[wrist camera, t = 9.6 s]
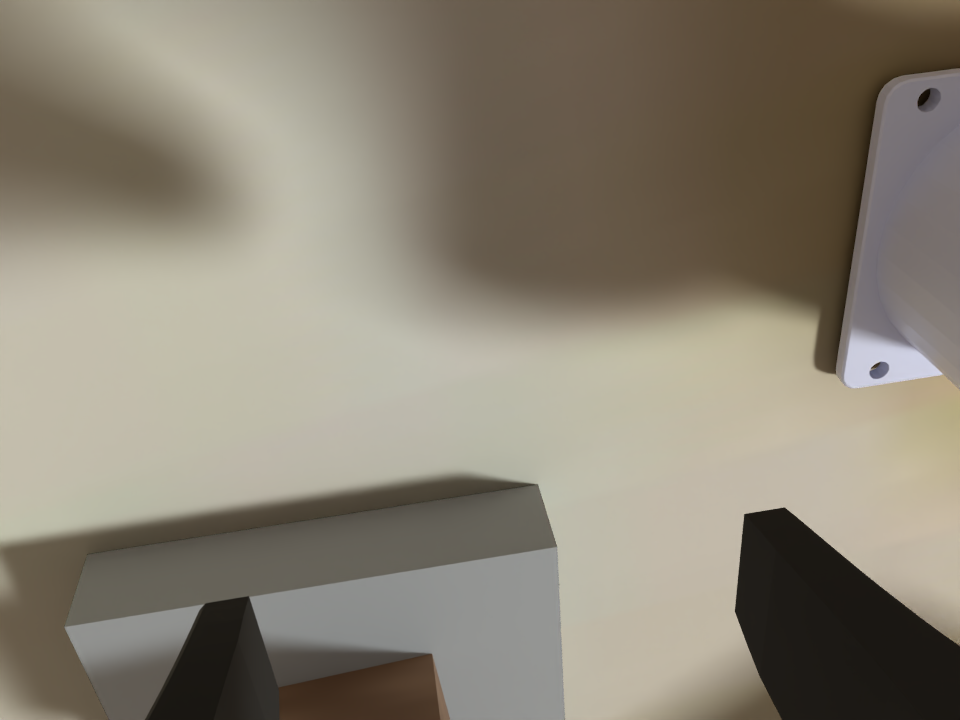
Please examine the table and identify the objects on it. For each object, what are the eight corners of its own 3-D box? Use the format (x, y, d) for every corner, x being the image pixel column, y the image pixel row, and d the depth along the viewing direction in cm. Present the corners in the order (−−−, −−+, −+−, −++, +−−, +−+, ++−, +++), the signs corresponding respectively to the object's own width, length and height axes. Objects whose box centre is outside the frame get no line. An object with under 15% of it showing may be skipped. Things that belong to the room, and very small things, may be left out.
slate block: (533, 471, 25) (557, 547, 22) (549, 737, 31) (569, 819, 29) (91, 539, 24) (64, 627, 21) (202, 799, 30) (190, 890, 28)
